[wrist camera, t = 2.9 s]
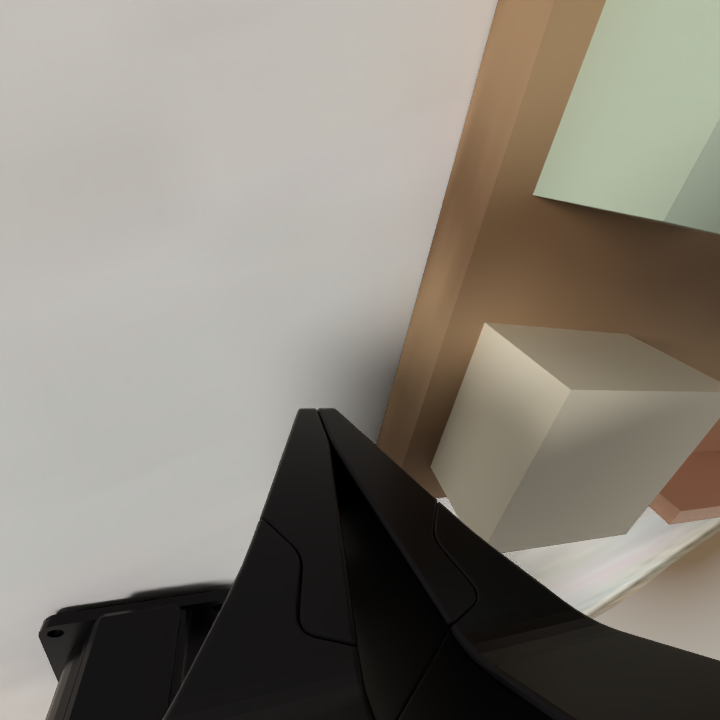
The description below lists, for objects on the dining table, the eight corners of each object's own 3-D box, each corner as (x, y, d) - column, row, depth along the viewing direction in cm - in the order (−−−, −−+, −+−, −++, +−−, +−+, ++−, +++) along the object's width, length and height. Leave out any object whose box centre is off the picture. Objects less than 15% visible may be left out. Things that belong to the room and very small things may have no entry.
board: (611, 446, 17) (649, 478, 16) (373, 457, 14) (390, 502, 12) (909, -1, 10) (1041, -29, 8) (565, -243, 6) (680, -382, 5)
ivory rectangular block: (554, 459, 13) (625, 534, 11) (430, 466, 12) (479, 556, 9) (627, 334, 11) (740, 392, 8) (484, 322, 9) (570, 390, 7)
